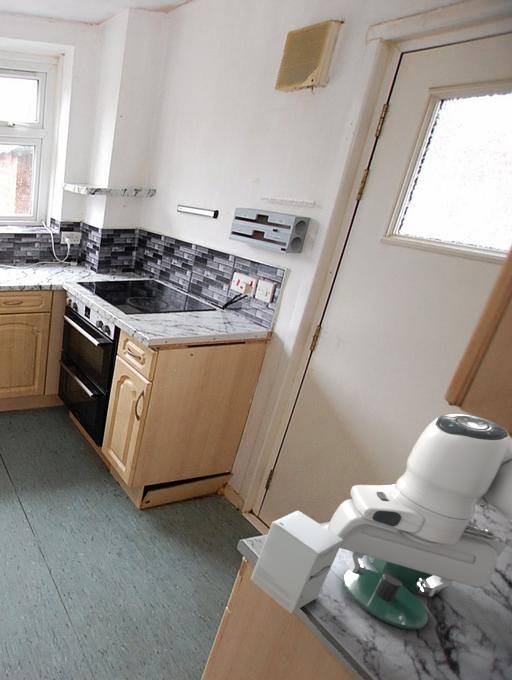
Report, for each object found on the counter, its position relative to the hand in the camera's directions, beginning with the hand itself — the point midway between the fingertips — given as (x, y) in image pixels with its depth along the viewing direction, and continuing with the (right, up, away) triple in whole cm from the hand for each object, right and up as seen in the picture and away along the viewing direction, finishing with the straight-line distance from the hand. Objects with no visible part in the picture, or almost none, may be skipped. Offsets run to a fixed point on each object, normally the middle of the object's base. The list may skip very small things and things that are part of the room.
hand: (388, 581), depth 74 cm
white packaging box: (-16, -2, +2) cm, 16 cm away
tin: (+9, -2, +8) cm, 12 cm away
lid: (0, -3, +1) cm, 3 cm away
